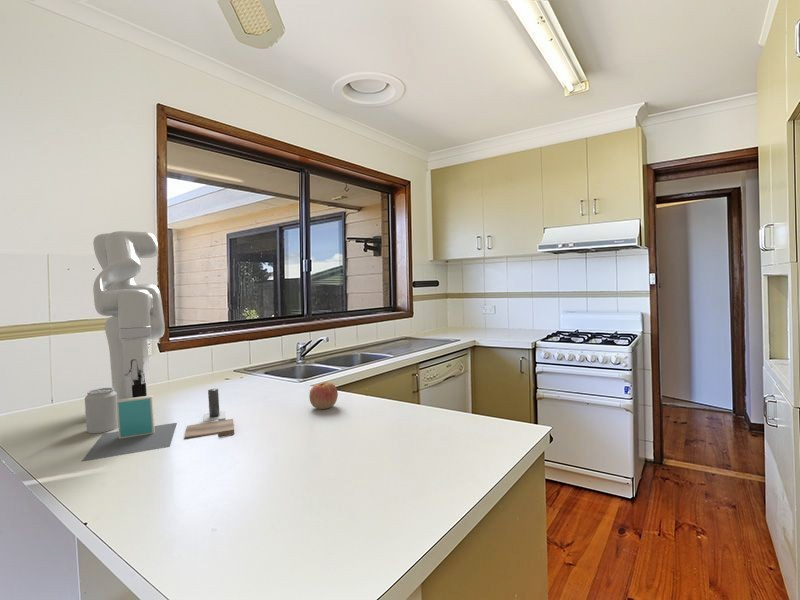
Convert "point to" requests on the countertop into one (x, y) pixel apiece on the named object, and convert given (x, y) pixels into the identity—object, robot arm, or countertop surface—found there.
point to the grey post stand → (214, 407)
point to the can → (101, 410)
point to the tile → (135, 416)
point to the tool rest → (210, 429)
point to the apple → (323, 395)
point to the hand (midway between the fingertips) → (139, 397)
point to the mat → (131, 443)
